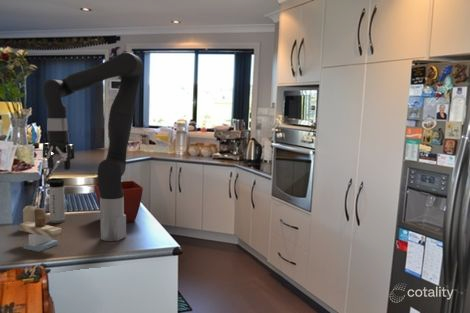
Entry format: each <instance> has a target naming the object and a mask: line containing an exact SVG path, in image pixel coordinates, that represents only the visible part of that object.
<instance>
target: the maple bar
mask: <svg viewBox="0 0 470 313" xmlns="http://www.w3.org/2000/svg"><path fill="white" fill-rule="evenodd" d="M19 231H20V232H21V231H22V232H25V233H29V234H33V233H34V234H39V235H43V236H48V237H52V239H53V238H56V237H59V236H62V228H61V227H57V226H51V225H49V224H46V209H45V207H44V208H43V207H42V208H41V207H40V208H39V207H38V208H37V209H35V223H34V222H25V223H23V222H22V223H19Z"/></svg>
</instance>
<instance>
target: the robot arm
mask: <svg viewBox="0 0 470 313" xmlns="http://www.w3.org/2000/svg"><path fill="white" fill-rule="evenodd" d="M143 63H144V62H143V61H142V59H141V58H140V57H139V56H138V55H137V54H134V53H131V52H127V51H126V52H122V53H119V54H118V55H115V56H114V57H112V58H110V59H108V60H106V61H104V62H102V63H99V64H97V65H95V66H92V67H89V68H86V69H83V70H80V71H76V72H74V73H73V72H72V73H71V74H68V75H67V76H66V78H65V77H64V78H63V79H55V78H51V79H47V80H45V82H44V84H43V87H42V93H43V97H44V101H45V105H46V108H47V111H46V112H47V122H46V127H47V128H46V129H47V131H46V132H47V141H48V142H45V143H42V158H45V159H46V160H47V161H46V164H47V169H54V167H55V166H54V157H55V156H56V155H57V156H58V155H59V156H60V157H62V158H63V160H64V161H63V163H64V164H63V166H64V170H65V171H69V170H70V169H71V160H74V159H75V146H74V144H73V143H72V144H71V143H69V144H68V143H67V142H68V141H69V133H68V132H69V131H68V120H67V106H66V105H65V104H64V103H63V101H62V98H65V97H68V96H70V95H72V94H74V93H76V92H78V91H83V90H86V89H90V88H92V87H94V86H95V85H97V84H100V83H101V82H103V81H105V80H108V79H111V78H116V77H120V84H119V88H118V91H117V93H116V95H115V97H114V99H113V101H112V103H111V106H110V110H109V115H108V121H107V122H108V123H107V131H108V139H109V141H108V142H109V145H108V151H107V154H106V158H105V159H103V160H102V161H101V162H100V163H99V164H98V166H97V167H98V168H97V183H98V189H99V192H100V208H99V210H100V215H99V216H100V218H99V219H100V221H99V222H100V239H101V240H102V241H105V242H118V241H120V240H122V239H125V238H126V237H127V222H126V215H124V191H123V189H122V186H121V182H122V176H124V174H125V172H126V163H127V150H128V145H129V140H130V136H131V132H132V131H131V130H132V127H133V120H134V115H135V108H136V101H137V94H138V88H139V85H140V80H141V77H142V74H143V70H144V65H143Z"/></svg>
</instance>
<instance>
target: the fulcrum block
mask: <svg viewBox="0 0 470 313" xmlns="http://www.w3.org/2000/svg"><path fill="white" fill-rule="evenodd" d="M57 245H59V241H58V240H56V239H53V238H52V237H48V236H43V235H39V234H34V233H29V234H28V242H26V243H24V244H22V248H23V249H24V250H28V251H34V252H38V253H39V252H43V251H45V250H47V249H49V248H52V247H55V246H57Z"/></svg>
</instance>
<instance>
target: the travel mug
mask: <svg viewBox="0 0 470 313" xmlns="http://www.w3.org/2000/svg"><path fill="white" fill-rule="evenodd" d="M48 182H49V183H48V185H49V186H48V187H49V188H48V190H49V191H48V193H49V194H48V195H49V220H50V221H49V222H50V223H51V224H61V223H64V222H66V217H65V216H66V215H65V214H66V212H65V209H66V208H65V207H66V206H65V185H64V184H65V182H64V179H62V178H55V177H53V178H51V179H49V181H48Z"/></svg>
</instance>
